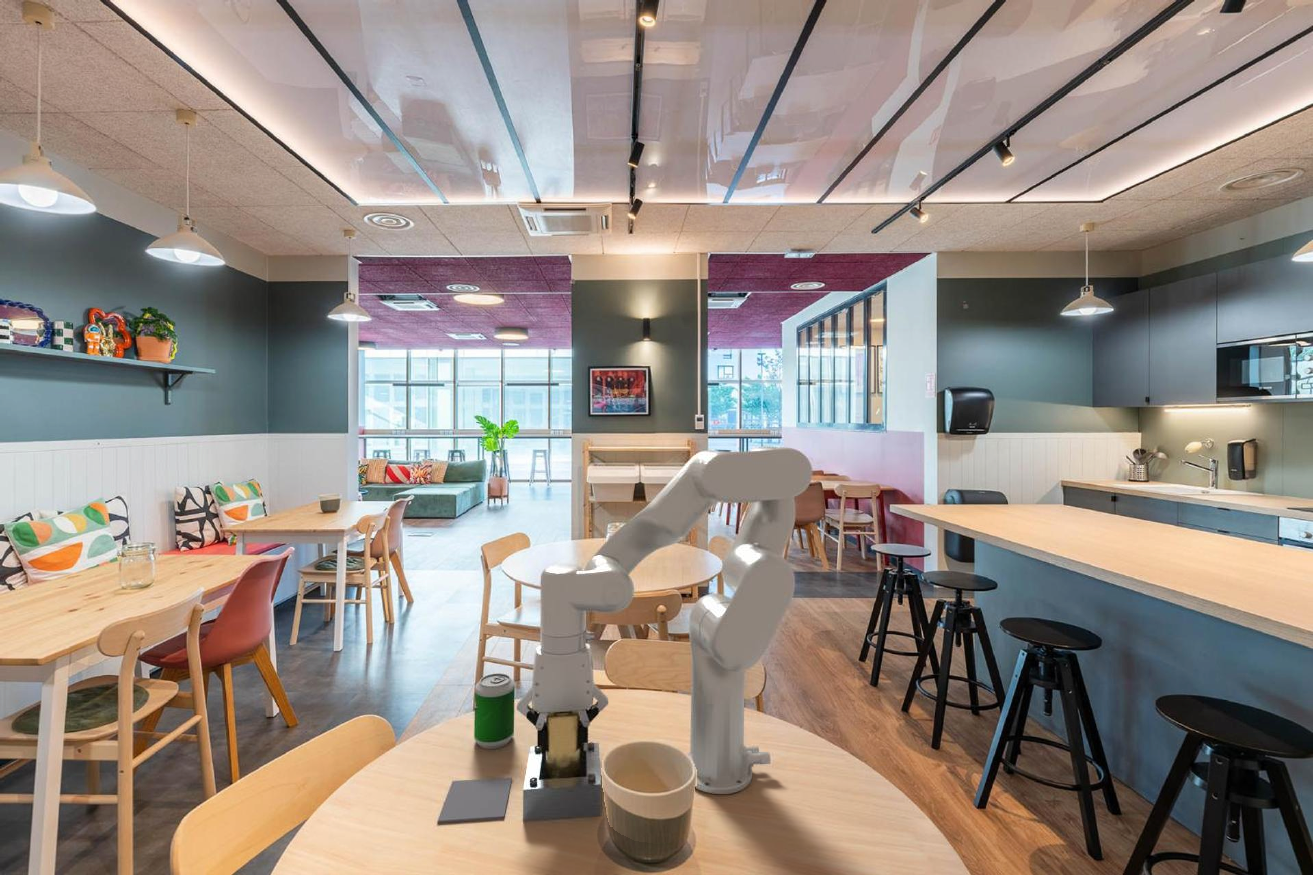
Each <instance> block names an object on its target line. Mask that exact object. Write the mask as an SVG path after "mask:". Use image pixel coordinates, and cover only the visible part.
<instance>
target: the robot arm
mask: <svg viewBox="0 0 1313 875" xmlns="http://www.w3.org/2000/svg"><path fill="white" fill-rule="evenodd" d="M812 478H813V466H812V464H811V461H810V460H809V458H808V457H807V456H806V455H805V454H804V453H803V452H802V451H800V450H798V449H796V448H791V447H783V446H782V447H779V446H778V447H777V446H766V445H765V446H758V447H755V448H752V449H751V450H750V451H749V450H748V451H747V450H746V451H723V450H708V449H707V450H702V451H700V452H698V453H697V452H696V454H695V455H693V456H692V457H691V458H690V459H688V461H687V462H686V463H685V464H684V465H683V466H682V467H681V468H680V470H678V472H677V473H676V474H675V475H674V476H673V477H672V478H671V479H670V481H668V483H667V484H666V485H665V486H664V487H663V488H662V490H660V492H658V493H657V495H656V496H655V497H654V498H653V499H652V500H651V501H650V502H649V503H648V504H647V505H646V506H645V508H643V509H642V510H641V511H639V512H638V513H636V514H635V515H634V516H633V517H632V518H631V519H629V520H628V521H627V522H626V523H625V524H623V525H622V526H621V527H620V528H618V529H617V531H615V532H614V533H613V534H612V535H611V536H610V537H609V538H608V539H607V540H606V541H605V542H604V543H603V544H602V546H601V547H600V548H599V549H598V550H597V551H596V552H595V553H594V555H593V556H592V557H591V558H590V559H589V561H588V562H587V564H586V565H585V568H584V569H583V567H581V566H579V565H577V564H570V563H568V564H567V563H562V564H561V563H560V564H554V565H550V566H547V567H546V568H545V569H543V571H541V574H540V628H539V629H540V631H539V632H540V641H539V642H540V644H539V645H538V646H537V647H536V648H535V654H534V661H533V669H532V670H533V671H532V682H531V683H532V686H531V688H529V689H528V691H527V692H526V693H525V694H524V696H522V698H520V700H519V701H518V702H517V705H516V710H517V711H518V712H519V713H520V714H521V715H523V716H525V717H526V720H528V721H529V722H530V724H532V725H533V726H534V727H535V729H536V730H537V737H536V738H537V742H536V743H537V745H536V746H541V754H545V753H546V717H547V714H548V713H552V712H569V711H578V713H579V716H580V719H581V720H580V750H581V751H584V744H586V743H589V726H590V724H591V722H592V721H594V720H595V718H597V716H598V715H599V713H600V712H601V711H603V710H604V709H605V708H606V707H607V706H608V705H609V697H607V695H606V694H605V693H604V692H603V691H602V689H600V688H599V687H598V686H597V685H596V684H595V683H594V682H595V681H594V664H593V663H594V661H593V654H592V649H591V645H590V644H589V643H588V642H591V641H592V642H593V641H595V631H588V629H587V612H589V613H591V612H594V613H602V614H614V613H618V612H621V611H623V610H625V609H626V608H627V607H628V606H630V605H631V603H632V601H633V598H634V595H635V585H634V582H633V580H632V577H631V576H630V574H631V573H632V572H633V571H634V569H636V567H637V566H639V565H640V564H641V562H642V561H644V560H645V559H646V558H647V557H648V556H650V555H651V554H653V553H654V552H655V551H658V550H660V549H662V548H666V547H669V546H672V545H676V544H677V543H679V542H681V541H683V539H684V538H685V537H686V536H688V534H689V533H691V531H692V530H693V529H694V528H695V526H696V525H697V524H698V523H699V522H700V520H701V519H702V518H703V517H704V516H705V515H706V514H707V513H708V512H709V510H710V509H711V508H712V507H713V506H714V505H715V504H716V503H721V504H742V503H744V504H745V503H749V509H748V513H747V515H746V517H745V519H744V521H743V524H742V526H741V528H740V530H739V532H738V534H737V536H736V537H735V539H734V541H733V543H732V545H731V546H730V548H729V550H728V552H727V554H726V556H725V558H724V560H723V562H722V566H721V577H722V580H723V582H724V583H725V585H726V586H727V587H728V588H729V589H730V590H731V591H732V592H733V595H732V597H731V598H730V597H729V596H726V595H725V594H720V593H709V594H705V595H704V596H702V597H700V598H699V599H698V600H697V601H695V603H694V605H693V607H692V609H691V611H690V614H689V619H688V633H689V634H688V636H689V637H688V638H689V644H690V645H689V647H690V654H691V655H690V656H691V657H690V658H691V686H690V687H691V689H690V743H689V744H690V745H689V747H690V749H689V753H687V754H686V755H688V756H690V758H691V760H693V762H694V764H695V767H696V769H697V786H696V788H695V789H697V791H698V790H699V791H701V792H704V793H707V794H713V795H730V794H733V793H734V794H735V793H737V792H740V791H741V790H744V789H745V788H746V787H748V786H749V785H750V783H751V781H752V779H753V767H754V765H770V764H771V755H770V752H769V751H760V750H759V746H757V745H756V746H747V747H746V745H745V742H744V741H745V740H744V738H745V694H746V693H745V692H746V689H745V688H746V672H745V671H748V670H749V669H751V668H753V667H754V666H755V665H756V664H758V663H759V662H760V660H761V659H762V657H763V656H764V655H765V653H766V652H767V650H768V648H769V647H770V644H771V642H772V641H773V638H774V637H775V635H776V633H777V631H778V629H779V626H780V625H781V622H782V620H783V619H784V617H785V615H786V612H788V609H789V607H790V604H791V603H792V600H793V597H794V594H795V587H796V577H795V574H794V571H793V570H794V569H793V568H792V566H791V565H790V563H789V562H788V560H786V559H785V558H784V557H783V556H782V555H783V553H784V551H785V548H786V547H787V545H788V542H789V540H790V537H791V535H792V532H793V530H794V526H795V522H796V515H797V514H796V502H795V497H797V496H799V495H801V494H802V493H804V492H805V491H806V490H807V489H808V487H809V486H810V484H811V482H812ZM594 699H595V700H596V702H595V703H594ZM530 703H531V706H530V705H529V704H530Z"/></svg>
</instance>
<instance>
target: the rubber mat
mask: <svg viewBox="0 0 1313 875" xmlns="http://www.w3.org/2000/svg"><path fill="white" fill-rule="evenodd" d="M512 781H513V776H510V777H508V776H507V777H495V778H493V777H491V778H481V779H480V778H477V779H476V778H475V779H461V780H452V781H451V784H450V786H449V790H448V791H447V792H448V793H447V795H446V797H445V800H444V802H443V806H442V807H441V809H440V810H441V811H440V813H439V816H438V818H437V822H436V823H437V824H448V823H449V824H450V823H451V824H452V823H462V822H474V821H475V822H478V821H488V820H489V821H492V820H500V819H501V820H503V819H505V815H506V811H507V805H508V802H509V796H510V792H511V786H512Z"/></svg>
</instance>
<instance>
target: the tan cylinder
mask: <svg viewBox="0 0 1313 875" xmlns="http://www.w3.org/2000/svg"><path fill="white" fill-rule="evenodd" d="M545 721H546V779H561V778H576V777H580V716H579V713H578V711H569V712H552V713H548V714H547V717H546V719H545Z"/></svg>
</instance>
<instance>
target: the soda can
mask: <svg viewBox="0 0 1313 875" xmlns="http://www.w3.org/2000/svg"><path fill="white" fill-rule="evenodd" d="M515 686H516V685H515V680H514V679H513V678H512V677H511V676H510V675H508V674H505V673H500V672H499V673H490V674H488V675H485V676H483V677H481V678H480V679H479V681H478V682H477V683H476V684H475V688H474V720H473V721H474V722H473V723H474V727H473V728H474V729H473V730H474V731H473V739H474V741H475V743H476V744H478V746H480V747H481V748H483V749H486V750H495V749H499V748H502V747H504V746H506V745H507V744H508V743H509V742H510V740H511V739H512V738H513V736H514V735H515V693H516V692H515V688H516V687H515Z"/></svg>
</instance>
